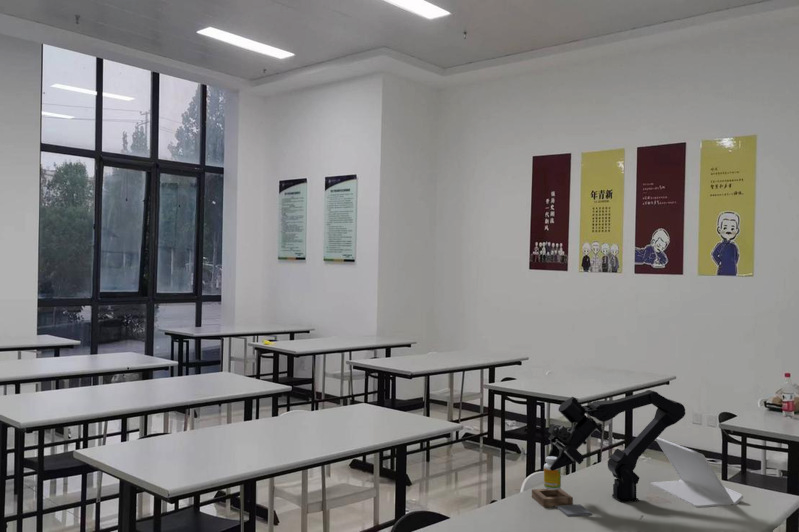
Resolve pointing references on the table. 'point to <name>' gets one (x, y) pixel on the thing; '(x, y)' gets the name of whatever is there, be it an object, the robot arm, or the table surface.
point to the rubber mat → (574, 510)
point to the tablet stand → (694, 478)
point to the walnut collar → (551, 497)
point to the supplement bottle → (551, 475)
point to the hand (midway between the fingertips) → (548, 467)
